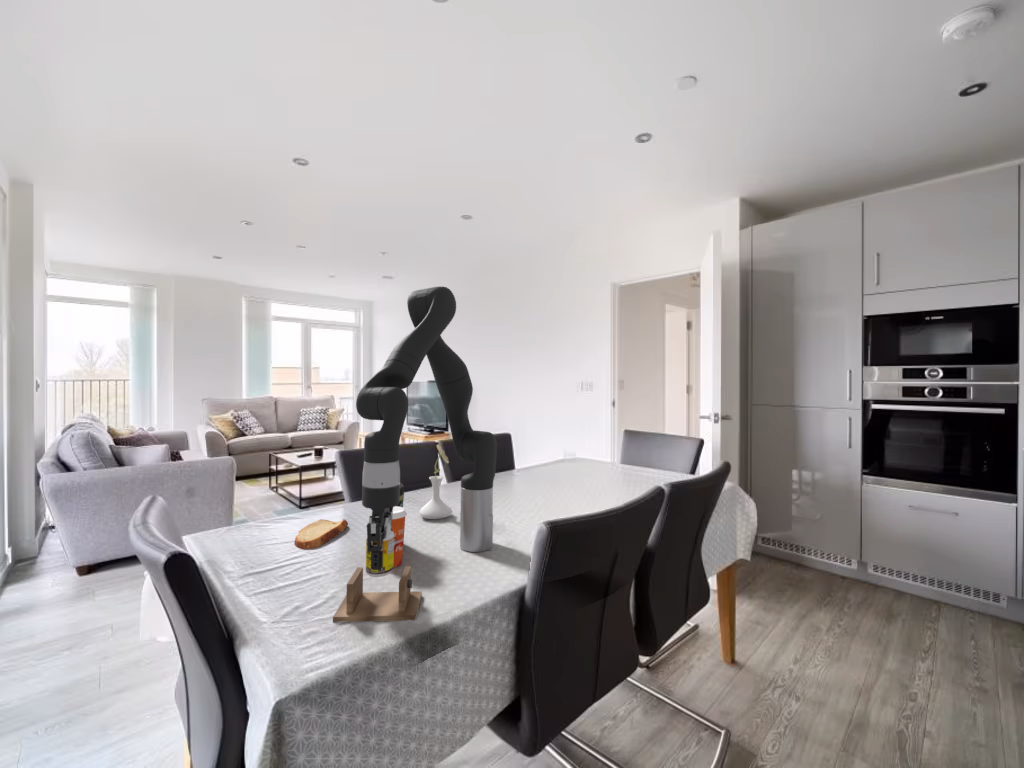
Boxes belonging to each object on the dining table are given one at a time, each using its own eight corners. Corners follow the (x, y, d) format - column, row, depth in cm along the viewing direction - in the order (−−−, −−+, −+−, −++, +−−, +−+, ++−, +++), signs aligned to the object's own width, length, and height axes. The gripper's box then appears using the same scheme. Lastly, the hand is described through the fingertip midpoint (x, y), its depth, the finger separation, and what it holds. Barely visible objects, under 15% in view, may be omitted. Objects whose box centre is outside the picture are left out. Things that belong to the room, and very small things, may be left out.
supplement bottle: (360, 575, 92) (360, 526, 92) (376, 565, 97) (376, 518, 97) (383, 579, 90) (384, 529, 90) (398, 569, 95) (399, 521, 95)
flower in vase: (449, 522, 150) (450, 448, 150) (415, 521, 150) (416, 447, 150) (455, 511, 163) (456, 442, 163) (423, 510, 164) (424, 442, 163)
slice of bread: (301, 552, 124) (301, 539, 124) (282, 535, 137) (282, 523, 137) (364, 538, 136) (364, 525, 136) (341, 523, 149) (341, 512, 149)
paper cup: (390, 572, 111) (390, 515, 111) (369, 565, 115) (369, 510, 115) (412, 561, 118) (413, 508, 118) (392, 555, 122) (392, 503, 122)
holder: (421, 595, 99) (421, 564, 99) (415, 619, 89) (415, 584, 89) (347, 597, 98) (347, 565, 98) (332, 622, 88) (333, 586, 88)
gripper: (393, 490, 87) (391, 577, 87) (405, 475, 101) (404, 549, 101) (353, 490, 86) (352, 578, 86) (371, 475, 100) (370, 550, 100)
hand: (380, 562), depth 94 cm, fingers closed on supplement bottle, 5 cm apart
